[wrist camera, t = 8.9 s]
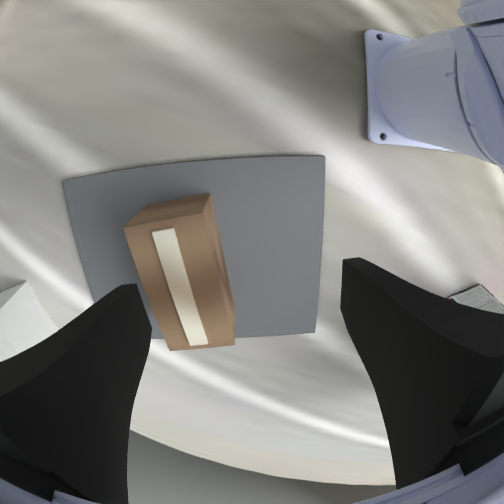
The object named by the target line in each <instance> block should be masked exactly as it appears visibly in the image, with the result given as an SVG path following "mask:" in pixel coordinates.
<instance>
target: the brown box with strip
mask: <svg viewBox="0 0 504 504" xmlns="http://www.w3.org/2000/svg"><path fill="white" fill-rule="evenodd" d="M124 232H125V235H126V238H127V241H128V244H129V247H130V250H131V253H132V256H133V259H134V262H135V265H136V268H137V270H138V273H139V276H140V279H141V282H142V284H143V287H144V290H145V292H146V295H147V297H148V300H149V303H150V305H151V308H152V310H153V313H154V315H155V318H156V320H157V322H158V325H159V327H160V330H161V332H162V334H163V337H164V339H165V341H166V343H167V346H168V348H169V350H170V351H174V350H188V349H200V348H210V347H220V346H230V345H235V311H236V309H235V304H234V300H233V295H232V291H231V287H230V282H229V278H228V273H227V269H226V264H225V260H224V255H223V251H222V246H221V241H220V237H219V232H218V227H217V222H216V218H215V213H214V208H213V203H212V198H211V193H208V194H202V195H197V196H191V197H186V198H181V199H176V200H171V201H166V202H161V203H156V204H151V205H147V206H144V207H143V208H142V209H141V210H140V211H139V212H138V213H137V214H136V215H135V216H134V217H133V218H132V219H131V221H130V222H129V223H128V224H127V225H126V226H125V227H124Z"/></svg>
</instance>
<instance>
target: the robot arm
mask: <svg viewBox="0 0 504 504" xmlns="http://www.w3.org/2000/svg"><path fill="white" fill-rule="evenodd" d="M460 6H461V8H459V9H458V11H457V12H458V15H459V17H460V18H461V20H462V22H463V23H464V24H466V25H463V26H459V27H455V28H451V29H447V30H444V31H440V32H437V33H433V34H430V35H427V36H423V37H420V38H417V39H412V38H408V37H404V36H400V35H396V34H392V33H387V32H383V31H378V30H373V29H369V30H367V31H366V32H365V33H364V40H365V53H366V69H367V95H368V139H369V140H370V141H371V142H373V143H377V144H390V145H401V146H411V147H420V148H428V149H436V150H443V151H450V152H457V153H462V154H465V155H468V156H472V157H475V158H478V159H481V160H484V161H487V162H490V163H492V164H495V165H498V166H499V167H500V168H501V169H502V171H503V173H504V0H461V3H460ZM376 35H379V36H380V37H381V41H380V40H378V39H377V37H376ZM381 133H383V134H384V139H383V140H381V139H380V134H381ZM340 309H341V312H342V315H343V318H344V321H345V324H346V327H347V330H348V333H349V335H350V337H351V339H352V341H353V343H354V345H355V347H356V349H357V351H358V354H359V356H360V358H361V360H362V362H363V364H364V366H365V368H366V370H367V372H368V375H369V377H370V379H371V381H372V384H373V386H374V389H375V392H376V395H377V399H378V402H379V405H380V408H381V412H382V416H383V419H384V423H385V427H386V431H387V435H388V440H389V445H390V449H391V454H392V460H393V466H394V473H395V480H396V489H397V490H396V491H393V492H390V493H387V494H384V495H380V496H377V497H374V498H371V499H367V500H364V501H360V502H356V503H352V504H504V314H501V313H495V312H490V311H486V310H481V309H477V308H474V307H470V306H467V305H463V304H460V303H457V302H454V301H451V300H448V299H446V298H443V297H440V296H438V295H435V294H433V293H430V292H428V291H426V290H424V289H422V288H420V287H417V286H415V285H413V284H411V283H409V282H407V281H405V280H403V279H401V278H399V277H397V276H395V275H394V274H392V273H390V272H388V271H386V270H384V269H382V268H380V267H379V266H377V265H375V264H373V263H371V262H369V261H367V260H365V259H362V258H360V257H358V258H350V259H343V265H342V288H341V305H340ZM151 334H152V326H151V323H150V321H149V318H148V315H147V312H146V310H145V307H144V304H143V301H142V298H141V295H140V292H139V289H138V286H137V283H133V284H122V285H120V286H118V287H116V288H115V289H113V290H112V291H110V292H109V293H108V294H106V295H105V296H104V297H102V298H101V299H100V300H98V301H97V302H96V303H95V304H93V305H92V306H91V307H89V308H88V309H87V310H85V311H84V312H83V313H82V314H80V315H79V316H78V317H76V318H75V319H73V320H72V321H71V322H69V323H68V324H67V325H65V326H64V327H63V328H61V329H60V330H58V331H57V332H55V333H54V334H52V335H51V336H49V337H48V338H46V339H44V340H43V341H41V342H39V343H38V344H36V345H34V346H32V347H30V348H28V349H26V350H25V351H23V352H21V353H19V354H17V355H15V356H13V357H11V358H8V359H6V360H4V361H1V362H0V504H128V490H127V452H128V438H129V429H130V421H131V414H132V408H133V404H134V400H135V396H136V393H137V389H138V386H139V383H140V379H141V376H142V373H143V369H144V366H145V363H146V359H147V356H148V352H149V347H150V341H151Z"/></svg>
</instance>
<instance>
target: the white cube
mask: <svg viewBox="0 0 504 504" xmlns="http://www.w3.org/2000/svg"><path fill="white" fill-rule="evenodd" d="M57 331H58V329H57V328H56V326H55V325H54V323H53V322H52V320H51V319H50V317H49V316H48V314H47V313H46V311H45V310H44V308H43V306H42V305H41V303H40V302H39V300H38V298H37V297H36V295H35V293H34V292H33V290H32V288H31V287H30V285H29V283H28V281H26V282H24V283H21V284H19V285H17V286H14V287H12V288H10V289H7V290H5V291H3V292H0V362H1V361H4V360H6V359H8V358H11V357H13V356H15V355H17V354H19V353H21V352H23V351H25V350H26V349H28V348H30V347H32V346H34V345H36V344H38V343H39V342H41V341H43V340H44V339H46V338H48V337H49V336H51V335H52V334H54V333H55V332H57Z"/></svg>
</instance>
